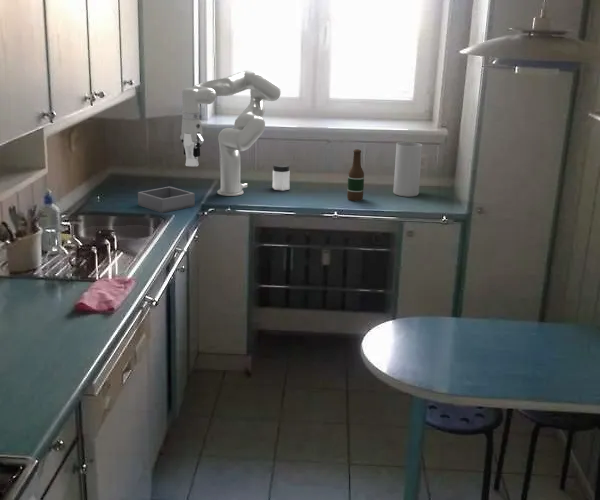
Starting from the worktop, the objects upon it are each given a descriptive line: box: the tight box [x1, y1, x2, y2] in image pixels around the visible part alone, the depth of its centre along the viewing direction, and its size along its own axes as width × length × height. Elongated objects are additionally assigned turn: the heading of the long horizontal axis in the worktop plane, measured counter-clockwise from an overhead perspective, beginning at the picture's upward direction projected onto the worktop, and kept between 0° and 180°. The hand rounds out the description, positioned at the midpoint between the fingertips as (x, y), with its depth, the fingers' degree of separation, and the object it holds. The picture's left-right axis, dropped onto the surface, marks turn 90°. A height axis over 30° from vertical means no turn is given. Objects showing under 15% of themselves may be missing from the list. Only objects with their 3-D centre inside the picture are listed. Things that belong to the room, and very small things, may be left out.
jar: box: [272, 163, 291, 191], centre depth 381 cm, size 9×8×12 cm
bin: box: [137, 186, 196, 214], centre depth 343 cm, size 18×18×6 cm
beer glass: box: [183, 133, 200, 168], centre depth 347 cm, size 7×7×15 cm
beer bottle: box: [346, 149, 365, 202], centre depth 361 cm, size 8×8×24 cm
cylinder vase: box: [392, 141, 423, 198], centre depth 375 cm, size 12×12×25 cm
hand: (191, 155), depth 348 cm, fingers closed on beer glass, 6 cm apart
